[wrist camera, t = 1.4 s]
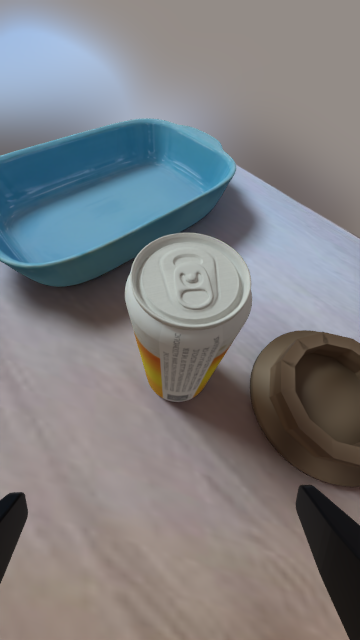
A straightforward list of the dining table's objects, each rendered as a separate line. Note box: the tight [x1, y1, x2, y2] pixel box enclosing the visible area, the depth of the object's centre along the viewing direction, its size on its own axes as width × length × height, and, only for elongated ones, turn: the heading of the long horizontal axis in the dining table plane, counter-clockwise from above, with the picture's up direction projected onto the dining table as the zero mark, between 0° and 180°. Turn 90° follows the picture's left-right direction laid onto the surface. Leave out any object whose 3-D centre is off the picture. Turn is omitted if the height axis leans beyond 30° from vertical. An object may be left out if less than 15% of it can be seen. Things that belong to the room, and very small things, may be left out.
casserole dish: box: [0, 119, 236, 287], centre depth 31 cm, size 37×22×7 cm, turn 133°
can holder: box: [250, 331, 360, 487], centre depth 21 cm, size 14×14×4 cm
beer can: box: [125, 233, 252, 402], centre depth 16 cm, size 6×6×15 cm
